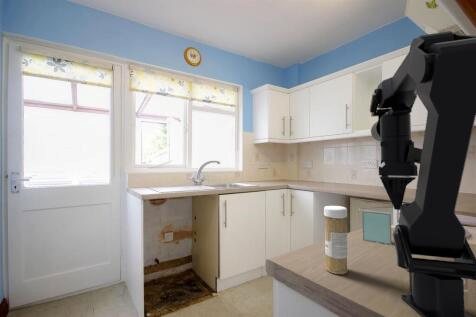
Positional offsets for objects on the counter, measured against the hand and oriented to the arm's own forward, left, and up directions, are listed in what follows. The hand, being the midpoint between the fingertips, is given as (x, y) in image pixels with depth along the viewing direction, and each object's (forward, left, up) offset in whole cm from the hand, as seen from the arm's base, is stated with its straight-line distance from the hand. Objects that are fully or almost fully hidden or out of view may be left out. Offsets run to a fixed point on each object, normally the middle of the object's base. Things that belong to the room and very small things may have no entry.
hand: (397, 206), depth 52 cm
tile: (+16, -4, -13) cm, 21 cm away
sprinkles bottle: (-3, +15, -13) cm, 20 cm away
